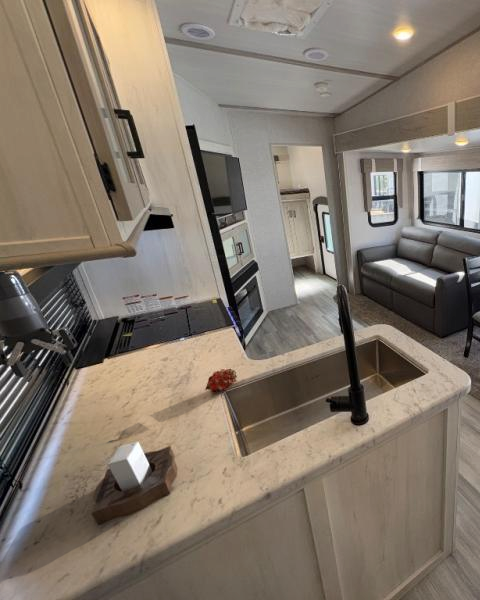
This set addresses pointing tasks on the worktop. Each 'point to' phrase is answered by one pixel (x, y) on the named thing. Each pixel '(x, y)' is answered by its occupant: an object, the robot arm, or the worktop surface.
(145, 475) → the cosmetic box
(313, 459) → the worktop surface
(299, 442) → the worktop surface
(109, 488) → the hole block
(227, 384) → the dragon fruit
